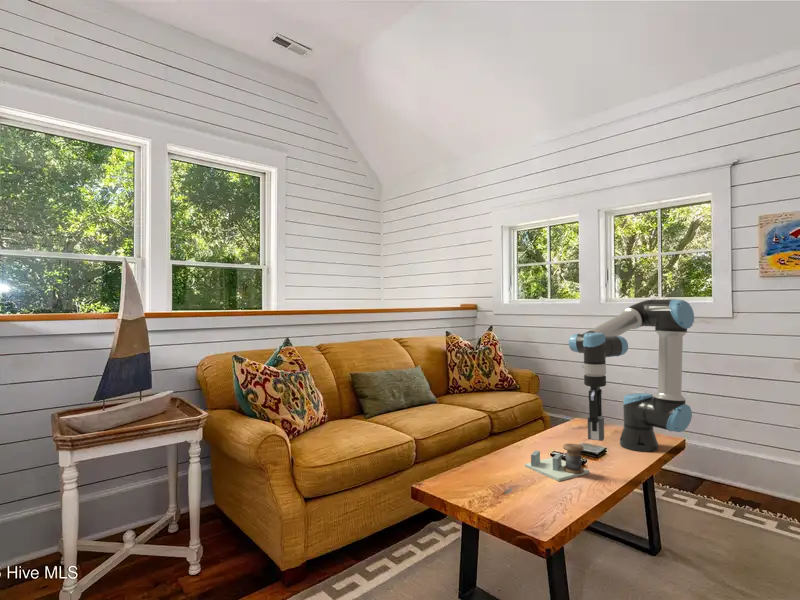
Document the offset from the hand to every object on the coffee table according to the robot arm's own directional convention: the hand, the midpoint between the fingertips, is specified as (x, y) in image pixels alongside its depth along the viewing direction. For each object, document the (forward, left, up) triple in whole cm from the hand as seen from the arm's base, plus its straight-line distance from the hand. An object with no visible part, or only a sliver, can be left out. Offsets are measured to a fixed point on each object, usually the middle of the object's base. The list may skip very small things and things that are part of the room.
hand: (596, 437), depth 177 cm
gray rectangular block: (0, 0, 0) cm, 0 cm away
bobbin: (+5, -7, -14) cm, 16 cm away
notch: (+10, -15, -14) cm, 23 cm away
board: (+8, -12, -14) cm, 20 cm away
